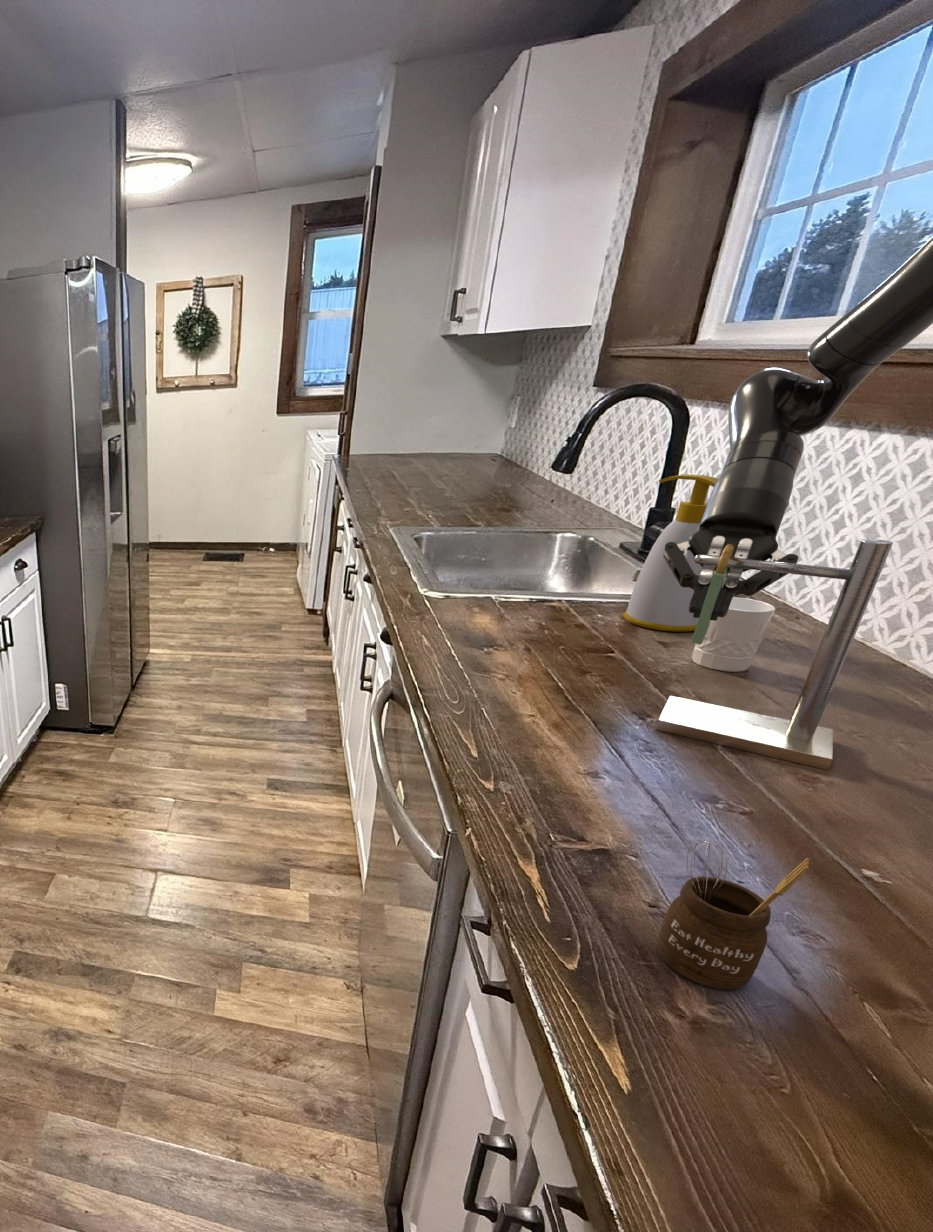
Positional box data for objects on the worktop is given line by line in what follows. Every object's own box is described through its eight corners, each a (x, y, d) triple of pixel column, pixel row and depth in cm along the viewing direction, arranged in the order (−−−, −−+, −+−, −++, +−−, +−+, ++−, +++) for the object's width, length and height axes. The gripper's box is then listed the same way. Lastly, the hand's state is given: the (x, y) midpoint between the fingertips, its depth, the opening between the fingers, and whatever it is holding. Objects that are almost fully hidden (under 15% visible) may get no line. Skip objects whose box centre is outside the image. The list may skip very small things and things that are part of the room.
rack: (639, 726, 96) (698, 534, 86) (652, 701, 102) (708, 520, 92) (828, 770, 84) (921, 553, 74) (829, 739, 90) (915, 536, 81)
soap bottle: (636, 609, 138) (675, 470, 128) (712, 624, 129) (761, 475, 119) (608, 621, 133) (647, 477, 123) (685, 637, 124) (734, 483, 114)
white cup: (758, 677, 108) (781, 614, 104) (690, 668, 112) (710, 607, 108) (747, 659, 114) (768, 599, 110) (683, 651, 118) (701, 593, 114)
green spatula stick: (691, 642, 91) (721, 550, 87) (696, 631, 95) (726, 542, 91) (701, 644, 90) (732, 551, 86) (706, 632, 94) (736, 543, 90)
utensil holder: (660, 927, 63) (701, 812, 58) (758, 966, 58) (811, 844, 54) (646, 964, 59) (689, 844, 54) (750, 1008, 55) (806, 882, 50)
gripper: (682, 481, 95) (640, 591, 92) (828, 489, 86) (786, 611, 83) (676, 515, 100) (636, 620, 97) (813, 525, 91) (773, 641, 88)
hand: (705, 615), depth 90 cm, fingers closed on green spatula stick, 1 cm apart
